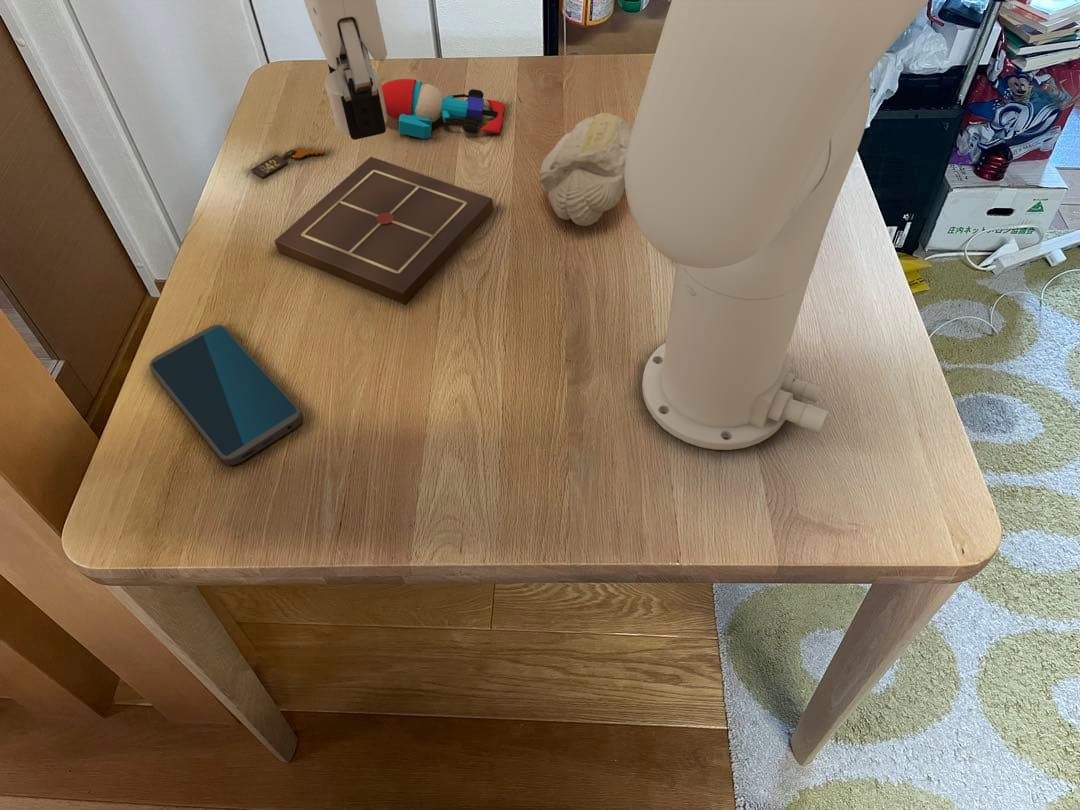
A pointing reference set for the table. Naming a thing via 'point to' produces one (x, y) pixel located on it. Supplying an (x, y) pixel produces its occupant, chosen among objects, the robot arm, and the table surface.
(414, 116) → the toy figure
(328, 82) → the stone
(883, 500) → the table surface
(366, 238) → the board
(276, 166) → the key tag
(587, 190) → the fossil replica
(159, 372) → the smartphone
